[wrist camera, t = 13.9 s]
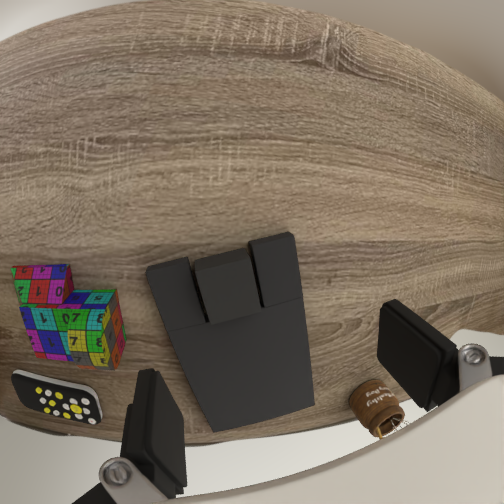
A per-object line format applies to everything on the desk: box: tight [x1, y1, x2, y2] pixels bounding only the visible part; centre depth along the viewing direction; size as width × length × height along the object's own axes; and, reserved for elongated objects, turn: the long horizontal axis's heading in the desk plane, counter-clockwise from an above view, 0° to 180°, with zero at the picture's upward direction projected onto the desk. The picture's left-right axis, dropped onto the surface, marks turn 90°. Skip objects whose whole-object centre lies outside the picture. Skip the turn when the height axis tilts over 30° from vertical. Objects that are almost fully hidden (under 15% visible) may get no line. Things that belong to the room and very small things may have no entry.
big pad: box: [145, 232, 315, 432], centre depth 28 cm, size 22×13×2 cm, turn 11°
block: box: [11, 264, 127, 370], centre depth 20 cm, size 12×8×7 cm
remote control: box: [11, 370, 102, 425], centre depth 25 cm, size 6×13×2 cm, turn 82°
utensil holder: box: [349, 380, 405, 440], centre depth 29 cm, size 6×6×12 cm
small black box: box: [195, 248, 261, 325], centre depth 25 cm, size 5×4×3 cm
